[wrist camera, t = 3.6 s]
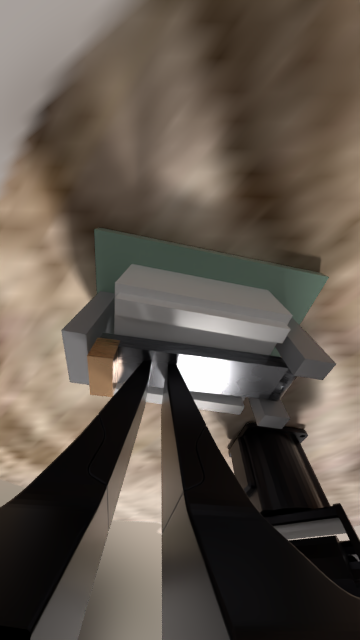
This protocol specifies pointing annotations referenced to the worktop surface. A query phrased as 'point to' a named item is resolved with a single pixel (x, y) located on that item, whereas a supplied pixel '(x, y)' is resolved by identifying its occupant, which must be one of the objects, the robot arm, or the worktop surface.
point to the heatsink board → (199, 311)
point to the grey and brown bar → (187, 367)
